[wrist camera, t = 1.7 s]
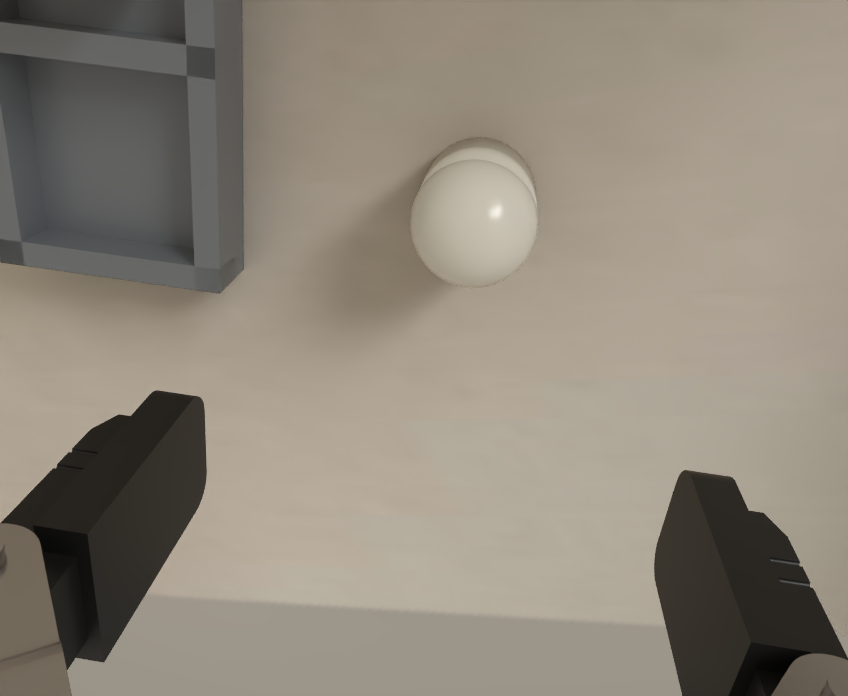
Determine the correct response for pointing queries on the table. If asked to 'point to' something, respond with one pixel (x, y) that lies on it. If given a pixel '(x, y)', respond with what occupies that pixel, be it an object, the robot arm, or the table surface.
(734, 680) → the robot arm
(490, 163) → the cream egg
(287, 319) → the table surface
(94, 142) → the egg tray
